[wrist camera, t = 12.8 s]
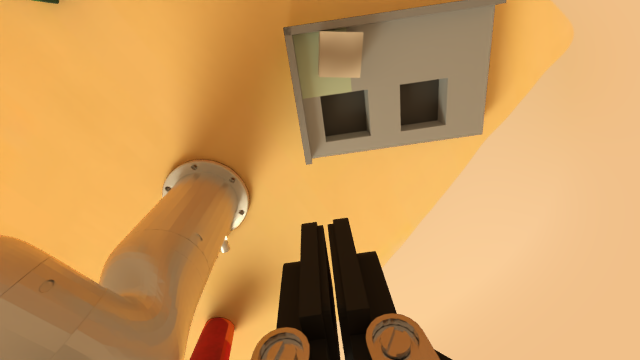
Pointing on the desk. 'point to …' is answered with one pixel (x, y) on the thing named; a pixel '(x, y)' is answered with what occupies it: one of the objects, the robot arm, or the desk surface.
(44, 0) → the crayon box
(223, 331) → the paper cup
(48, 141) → the desk surface
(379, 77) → the trap board
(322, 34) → the block
